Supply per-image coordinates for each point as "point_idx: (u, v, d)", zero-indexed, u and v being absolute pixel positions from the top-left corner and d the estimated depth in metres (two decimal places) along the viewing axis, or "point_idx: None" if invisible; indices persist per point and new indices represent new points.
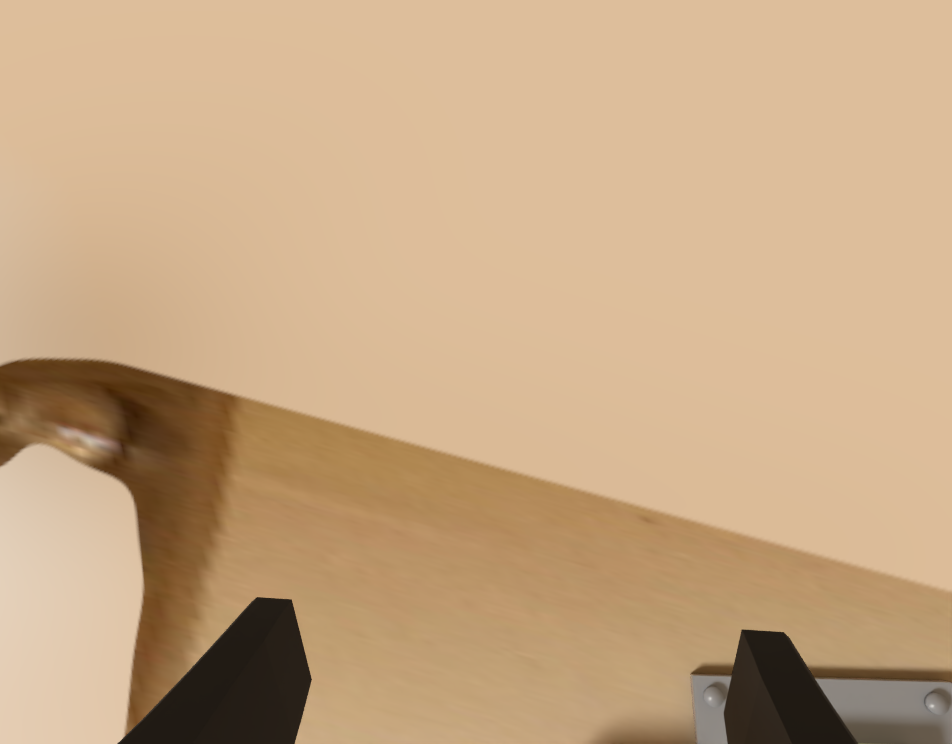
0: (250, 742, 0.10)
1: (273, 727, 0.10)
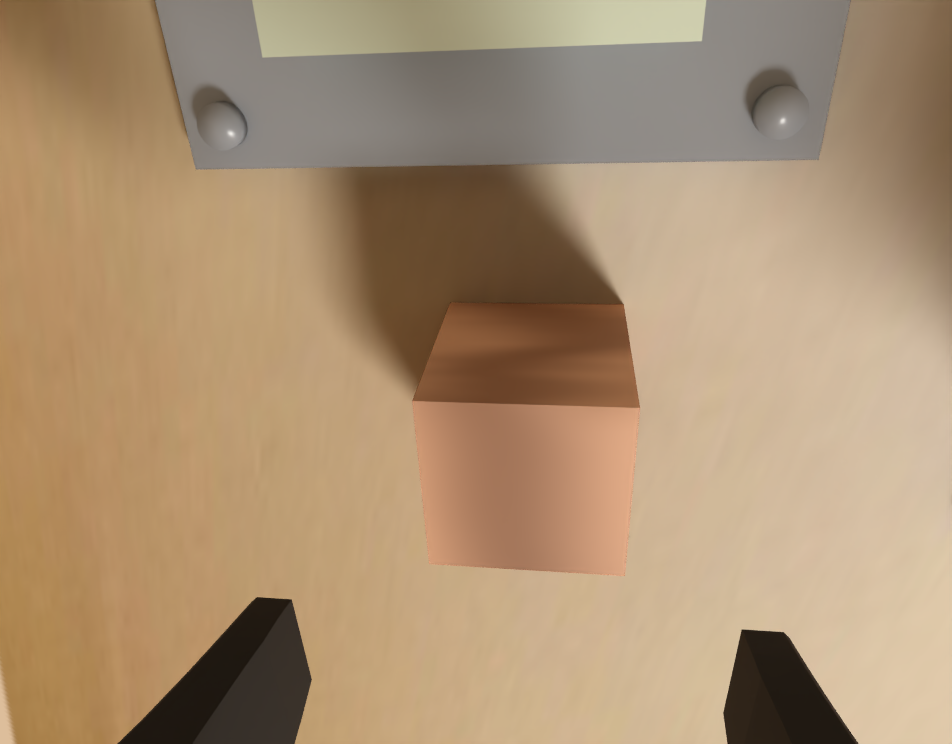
0: (250, 742, 0.10)
1: (273, 727, 0.10)
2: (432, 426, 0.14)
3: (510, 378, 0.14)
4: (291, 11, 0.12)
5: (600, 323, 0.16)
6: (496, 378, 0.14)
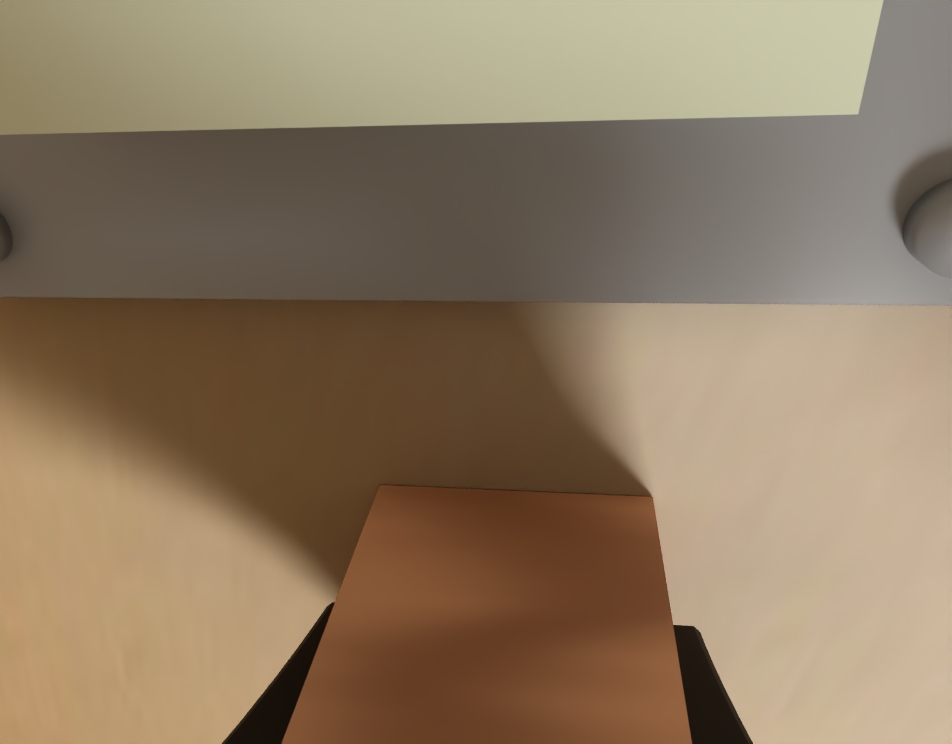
0: None
1: None
2: None
3: (456, 713, 0.08)
4: None
5: (617, 549, 0.10)
6: (431, 711, 0.08)
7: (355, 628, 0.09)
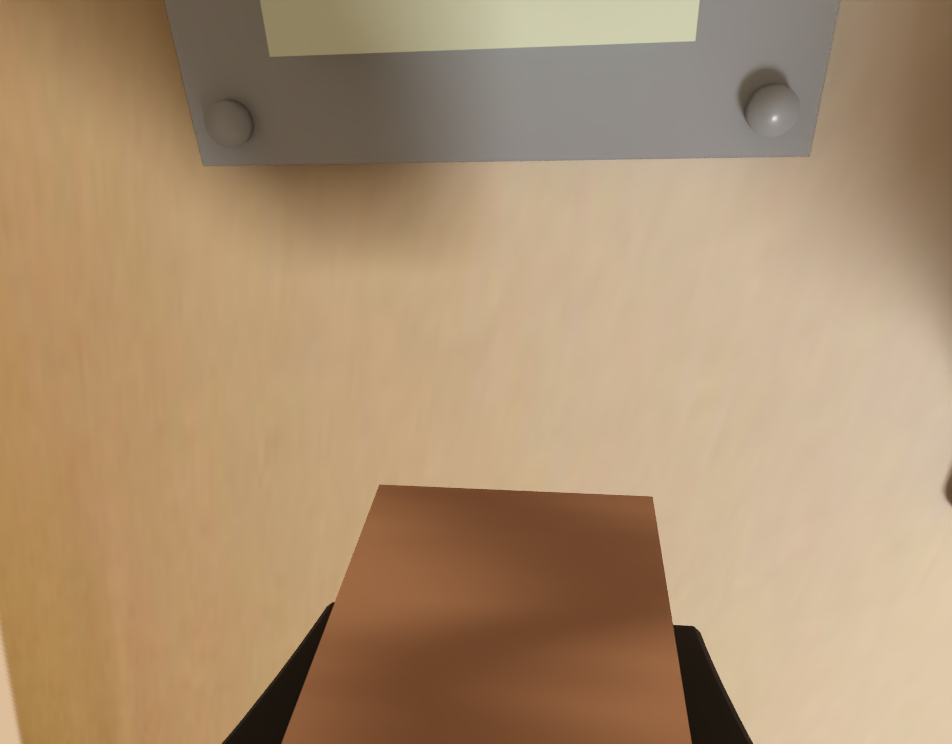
0: None
1: None
2: None
3: (456, 712, 0.08)
4: (298, 12, 0.13)
5: (617, 549, 0.10)
6: (431, 711, 0.08)
7: (355, 628, 0.09)
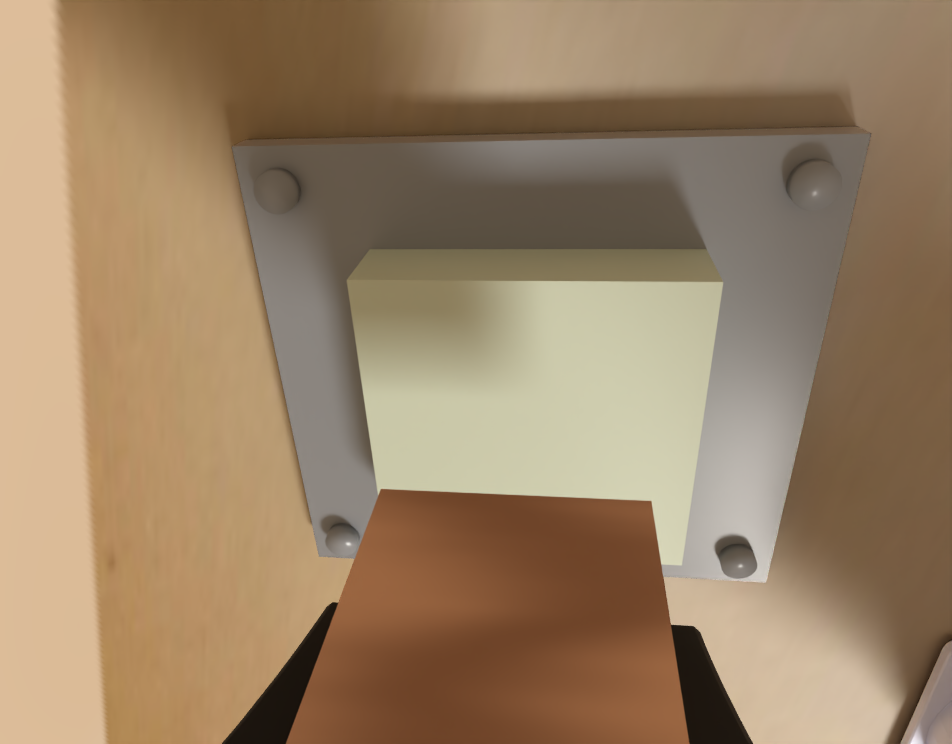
0: None
1: None
2: None
3: (457, 715, 0.08)
4: None
5: (616, 553, 0.10)
6: (433, 714, 0.08)
7: (357, 631, 0.09)
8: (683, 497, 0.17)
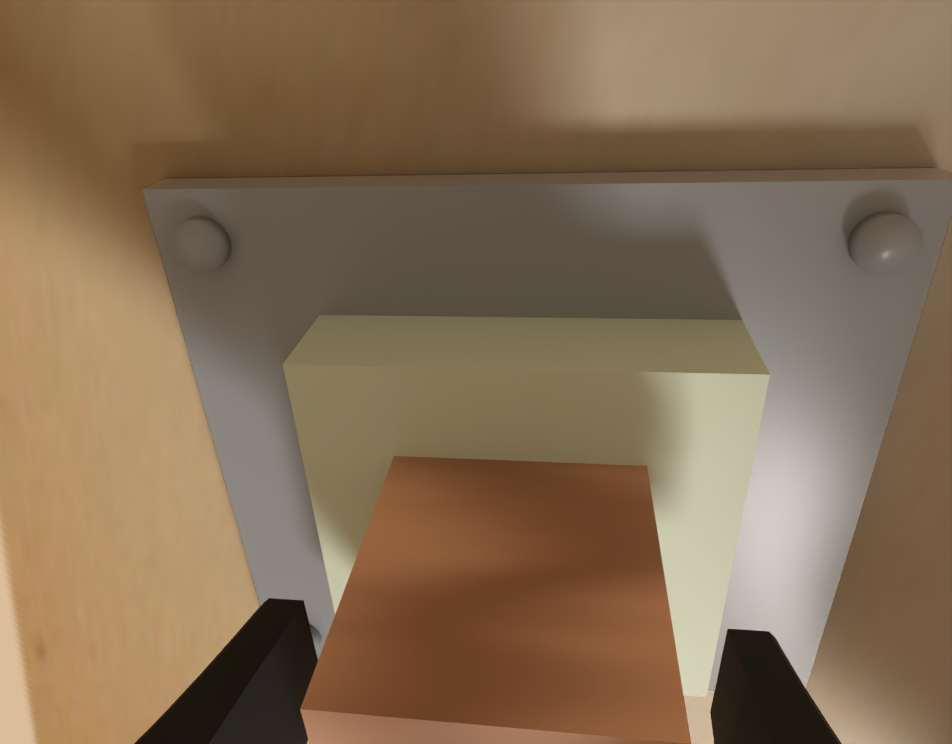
0: (263, 743, 0.10)
1: (285, 728, 0.10)
2: (337, 742, 0.08)
3: (469, 648, 0.09)
4: None
5: (614, 511, 0.11)
6: (447, 648, 0.09)
7: (376, 578, 0.10)
8: (710, 623, 0.14)
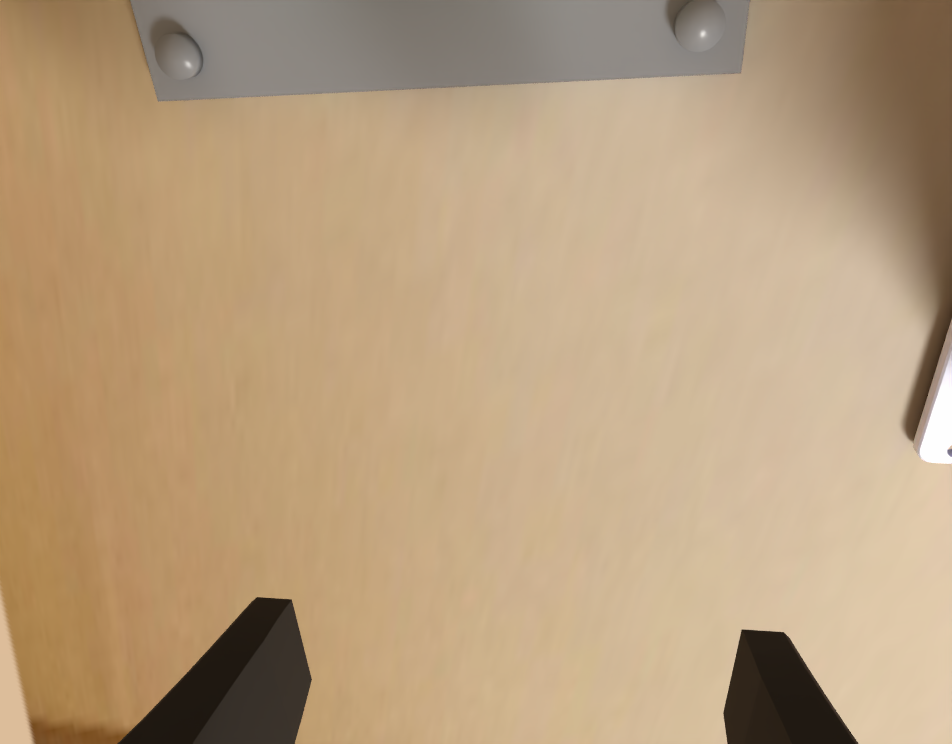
0: (250, 742, 0.10)
1: (273, 727, 0.10)
2: None
3: None
4: None
5: None
6: None
7: None
8: None
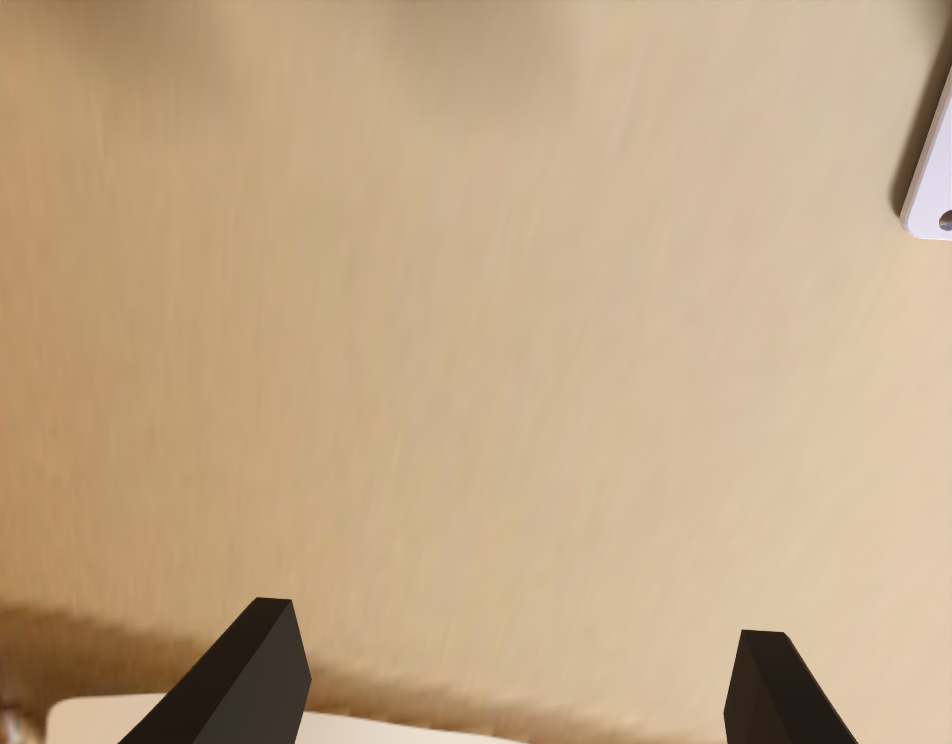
0: (250, 742, 0.10)
1: (273, 727, 0.10)
2: None
3: None
4: None
5: None
6: None
7: None
8: None
